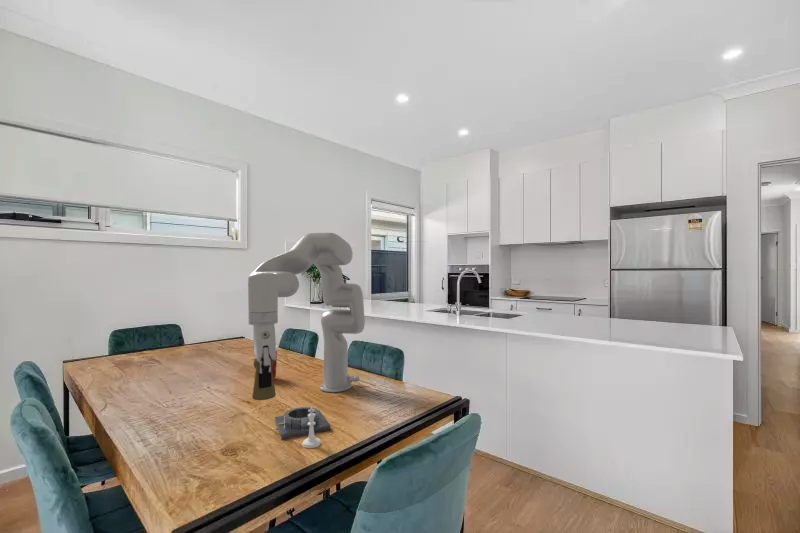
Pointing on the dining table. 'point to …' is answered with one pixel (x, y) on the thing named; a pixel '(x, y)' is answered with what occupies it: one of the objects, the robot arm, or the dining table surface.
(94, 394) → the dining table surface
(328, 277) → the robot arm
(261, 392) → the olive game pawn
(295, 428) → the socket
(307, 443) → the chess piece
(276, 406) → the dining table surface
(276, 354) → the paper cup
